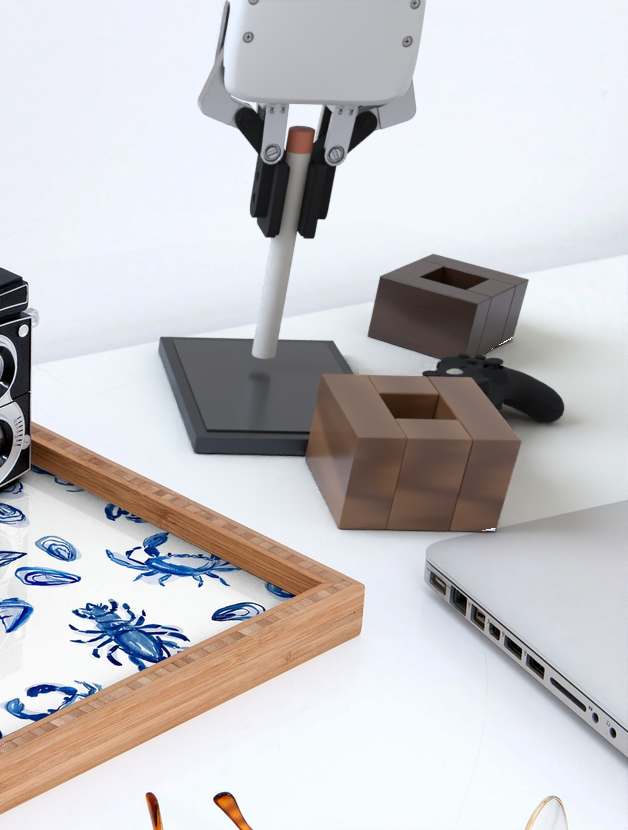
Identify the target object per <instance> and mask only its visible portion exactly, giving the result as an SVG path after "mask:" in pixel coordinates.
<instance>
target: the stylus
mask: <svg viewBox="0 0 628 830" xmlns="http://www.w3.org/2000/svg"><path fill="white" fill-rule="evenodd" d="M286 136H287V137H286V141H285V143H286V144H285V147H284V149H285V150H286V152H287V153H286V159H285V162H287V164H288V165H289V166H290V175H289V181H288V187H287V192H286V198H285V204H284V210H283V216H282V222H281V228H280V233H279V235H276V237H275V238H270V241H269V247H268V252H267V253H268V254H267V259H266V264H265V271H264V277H263V284H262V288H261V295H260V301H259V308H258V313H257V318H256V325H255V331H254V337H253V339H254V342H253V348H252V355H253V356H254V357H256V358H259V359H272V358H274V357H275V355H276V349H277V343H278V339H279V337H280V331H281V327H282V322H283V321H282V319H283V315H284V310H285V303H286V298H287V292H288V287H289V282H290V281H289V280H290V277H291V276H290V275H291V269H292V264H293V258H294V253H295V247H296V242H297V235H298V231H297V229H298V224H299V218H300V213H301V207H302V201H303V196H304V190H305V184H306V179H307V173H308V167H309V162H310V157H311V152H312V148H313V143H314V140H315V136H316V129H315V128H313V127H311V126H308V125H307V126H306V125H292V126H289V128H288V132H287V135H286Z"/></svg>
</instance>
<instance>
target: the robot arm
mask: <svg viewBox="0 0 628 830" xmlns="http://www.w3.org/2000/svg"><path fill="white" fill-rule="evenodd" d="M426 4H427V0H222V2H221V7H220V12H219V17H218V23H217V28H216V34H215V40H214V47H213V56H212V68H211V70H210V72H209V74H208V77H207V79H206V81H205V83H204V85H203V87H202V88H201V90H200V93H199V95H198V97H197V102H196V103H197V107H198V108H199V110H200V112H201V113H202V114H203V115H204V116H206V117H208V118H210V119H212V120H215V121H218V122H220V123H222V124H225V125H227V126H230V127H232V128H235V129H237V130H238V131H240V133H241V134H242V136H243V137H244V138H245V139H246V141H247V142H248V143H249V144H250V145H251V147H252V148H253V149H254V151H255V152H256V153H257V155H256V156H257V157H256V163H255V170H254V176H253V183H252V189H251V195H250V201H249V215H250V217H251V218H253V219H256V224H257V226H258V228H259V230H260V231H261V233H262V235H263V236H264V238H266V239H267V238H268V239H271V238H275V237H276V235H279V233H280V228H281V222H282V216H283V210H284V204H285V198H286V192H287V187H288V181H289V175H290V166H289V165H288V164H287V162H285V159H286V153H287V152H286V149H285V145H286V144H285V143H286V136H287V135H286V134H287V129H288V127H287V125H288V118H289V110H290V105H310V106H311V105H312V106H313V105H315V106H316V105H317V106H321V109H320V114H319V119H318V122H317V123H318V124H317V128H316V130H315V137H314V142H313V148H312V152H311V157H310V162H309V167H308V173H307V179H306V184H305V190H304V196H303V201H302V207H301V213H300V218H299V224H298V229H297V234H299V236H300V237H302V238H303V239H307V240H313V239H315V236H316V233H317V228H318V222H319V220H321V221H322V220H323V221H324V220H326V219H327V217H328V214H329V210H330V209H329V208H330V204H331V199H332V198H331V197H332V193H333V187H334V183H335V182H334V181H335V176H336V171H337V166H340V165H342V164H343V163H344V162H345V161H346V159H347V156H348V155H349V153H351V152H352V151H353V150H355V148H356V147H358V146H359V145H361V143H363V142H364V141H365V140H366V139H367V138H369V136H370V135H372V134H373V133H374V132H376V131H378V130H384V129H387V128H390V127H394V126H396V125H397V126H398V125H399V124H403V123H405V122H409V121H411V120H412V119H413V118H414V117H415V116H416V113H417V104H416V96H415V95H416V94H415V88H414V79H413V78H414V74H415V70H416V66H417V63H418V62H417V61H418V56H419V52H420V51H419V50H420V45H421V39H422V32H423V26H424V21H425V12H426ZM250 103H256V105H255V109H254V108H253V106H252V105H251V104H250Z"/></svg>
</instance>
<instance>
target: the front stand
mask: <svg viewBox="0 0 628 830" xmlns="http://www.w3.org/2000/svg"><path fill="white" fill-rule="evenodd" d="M521 446H522V440H521V438H520V437H519V436H518V435H517V434H516V432H515V430H514V429H513V428H512V427H511V425H510V424H509V423H508V422H507V421H506V420H505V418H504V417H503V416H502V414H501V413H500V411H498V410H497V409H496V408H495V407H494V405H493V404H492V403H491V402H490V400H489V399H488V398H487V397H486V395H485V394H484V393H483V391H482V390H481V389H480V388H479V386H478V385H477V384H476V383H475V381H474V380H473V379H472V378H471V377H432V376H429V377H426V376H423V375H391V374H390V375H384V374H376V375H375V374H360V373H359V374H355V373H354V374H321V379H320V384H319V390H318V395H317V400H316V405H315V410H314V415H313V420H312V425H311V430H310V435H309V440H308V445H307V451H306V455H304V461H305V464H306V465H307V467H308V469H309V471H310V474H311V476H312V477H313V479H314V482H315V483H316V485H317V487H318V489H319V491H320V494H321V496H322V497H323V500H324V503H325V504H326V506H327V508H328V510H329V512H330V514H331V516H332V518H333V520H334V522H335V524H336V526H337V528H338V529H340V530H342V529H345V530H346V529H347V530H394V531H395V530H396V531H397V530H398V531H438V532H439V531H440V532H444V531H445V532H447V531H450V532H483V531H482V530H486V529H491V528H498V526H499V521H500V518H501V515H502V511H503V508H504V504H505V501H506V497H507V494H508V490H509V488H510V487H509V486H510V484H511V481H512V477H513V473H514V470H515V467H516V463H517V460H518V455H519V452H520V448H521Z"/></svg>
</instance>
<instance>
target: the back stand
mask: <svg viewBox="0 0 628 830" xmlns="http://www.w3.org/2000/svg"><path fill="white" fill-rule="evenodd" d="M529 281H530V280H529V279H528V278H525V277H522V276H518V275H514V274H510V273H506V272H503V271H499V270H495V269H492V268H488V267H484V266H480V265H477V264H473V263H470V262H465V261H463V260H459V259H455V258H452V257H451V258H450V257H448V256H443V255H440V254H436V253H431V254H429V255H427V256H424V257H422V258H420V259H416V260H415V261H413V262H409V263H408V264H405V265H403V266H400V267H398V268H396V269H394V270H391V271H388V272H386V273H384V274H382V275H380V276H379V279H378V284H377V289H376V293H375V299H374V303H373V307H372V311H371V316H370V321H369V326H368V331H367V337H369V338H373V339H376V340H379V341H382V342H386V343H389V344H392V345H394V346H398V347H401V348H405V349H407V350H408V349H409V350H411V351H414V352H417V353H420V354H424V355H427V356H430V357H433V358H437V359H440V360H441V359H442V358H443V357H451V356H458V355H459V354H460V353H464V354H468V355H469V356H470V357H472V358H475V356H476V355H482V354H483V355H484V353H485V354H487V353H489V352H490V351H489V350H491V349H492V348H495V347H496V346H498V345H499V344H501V343H503V342H504V341H506V340H508V339H510V338H511V337H513V336H514V337H515V333H516V329H517V325H518V322H519V318H520V314H521V311H522V307H523V304H524V300H525V296H526V293H527V289H528V285H529ZM514 337H513V338H514ZM498 347H499V346H498ZM496 348H497V347H496ZM496 348H495V349H496ZM488 351H489V352H488ZM491 351H492V350H491ZM486 352H487V353H486Z"/></svg>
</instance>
